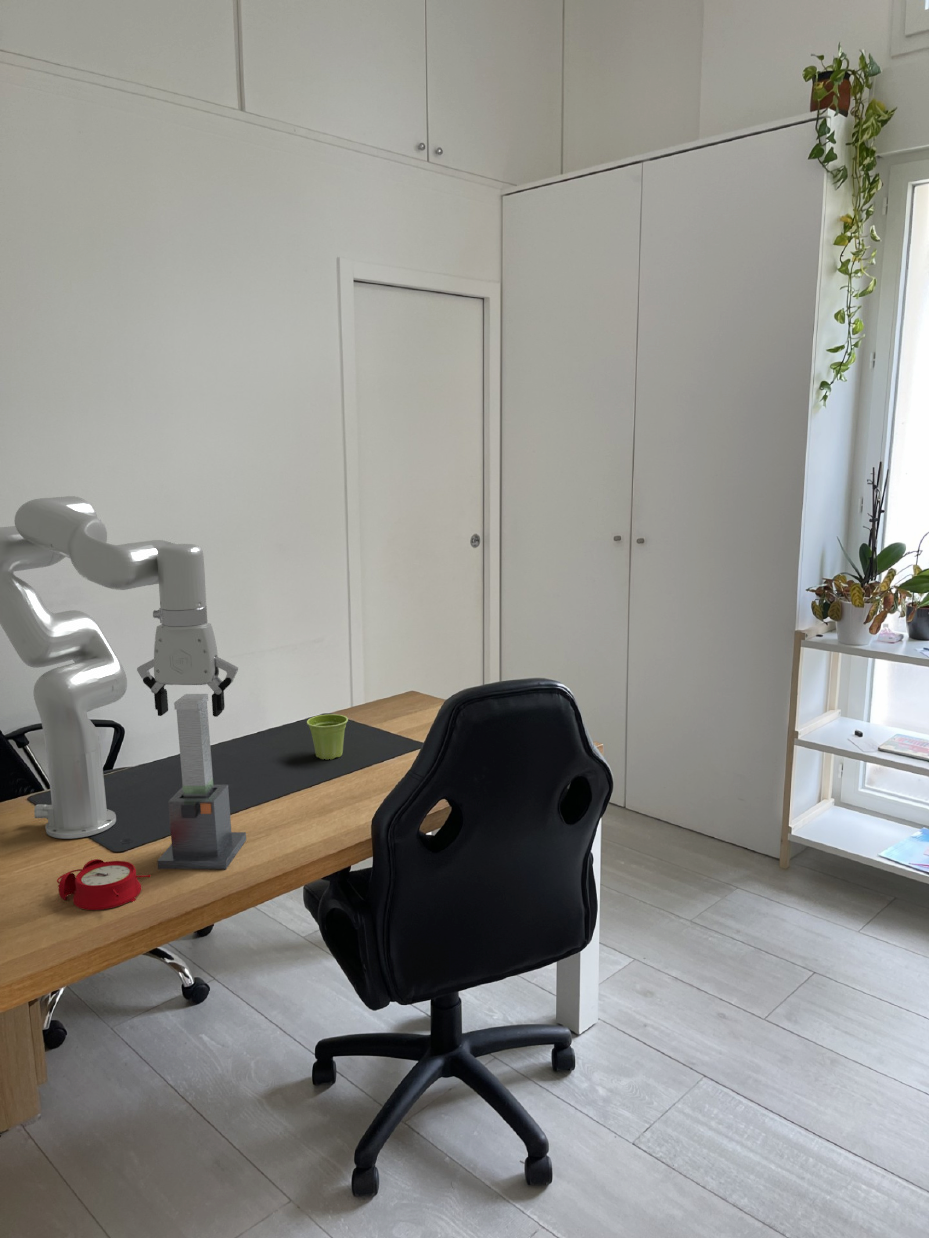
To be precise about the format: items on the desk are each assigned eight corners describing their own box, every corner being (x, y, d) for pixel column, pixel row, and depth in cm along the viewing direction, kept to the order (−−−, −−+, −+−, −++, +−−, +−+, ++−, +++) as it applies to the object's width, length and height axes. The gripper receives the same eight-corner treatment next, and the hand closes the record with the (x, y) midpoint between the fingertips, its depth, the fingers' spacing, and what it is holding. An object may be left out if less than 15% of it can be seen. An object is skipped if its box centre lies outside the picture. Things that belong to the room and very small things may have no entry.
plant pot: (346, 762, 213) (344, 725, 211) (305, 762, 213) (303, 726, 212) (352, 748, 222) (350, 713, 221) (312, 749, 222) (310, 714, 221)
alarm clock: (112, 896, 144) (40, 861, 149) (109, 931, 146) (37, 895, 151) (158, 868, 153) (89, 836, 159) (155, 900, 155) (86, 868, 160)
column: (183, 820, 162) (174, 702, 159) (194, 807, 168) (185, 693, 164) (206, 820, 162) (197, 702, 158) (216, 807, 168) (207, 693, 164)
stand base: (157, 868, 161) (152, 805, 159) (182, 839, 173) (177, 780, 171) (226, 869, 160) (221, 805, 158) (246, 839, 172) (242, 780, 170)
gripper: (125, 621, 155) (132, 719, 159) (227, 622, 154) (232, 721, 158) (143, 612, 163) (149, 707, 166) (240, 613, 162) (245, 708, 165)
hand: (190, 714), depth 162 cm, fingers open, 9 cm apart
